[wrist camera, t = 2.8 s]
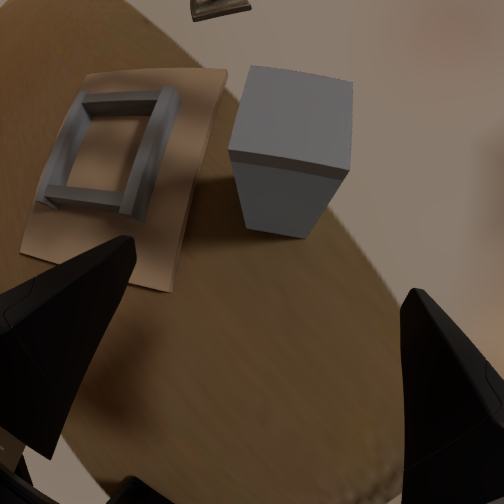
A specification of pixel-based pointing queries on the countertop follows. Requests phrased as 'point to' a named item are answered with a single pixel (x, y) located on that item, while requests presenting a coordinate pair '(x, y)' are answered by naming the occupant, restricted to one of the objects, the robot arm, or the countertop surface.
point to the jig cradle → (126, 168)
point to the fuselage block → (290, 148)
